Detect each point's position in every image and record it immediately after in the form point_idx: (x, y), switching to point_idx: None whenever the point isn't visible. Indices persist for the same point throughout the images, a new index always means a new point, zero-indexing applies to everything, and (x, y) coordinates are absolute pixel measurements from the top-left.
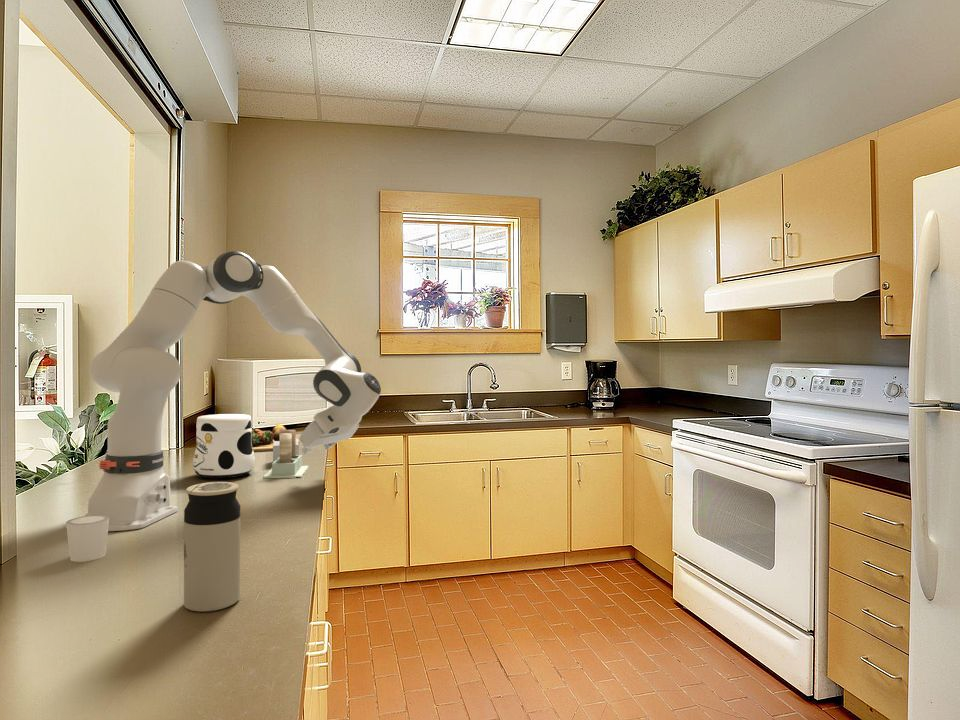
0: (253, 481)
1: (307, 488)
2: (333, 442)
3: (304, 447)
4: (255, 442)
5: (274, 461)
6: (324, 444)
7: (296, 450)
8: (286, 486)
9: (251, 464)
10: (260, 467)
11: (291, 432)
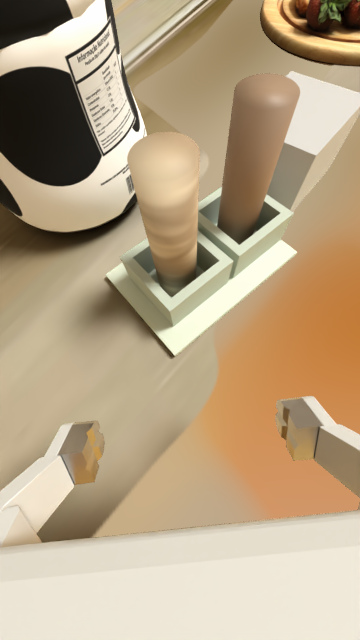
0: (65, 288)
1: (57, 526)
2: (345, 474)
3: (48, 454)
4: (325, 18)
5: None
6: (283, 406)
7: (299, 173)
8: (52, 424)
9: (97, 211)
10: (202, 174)
11: (255, 117)
